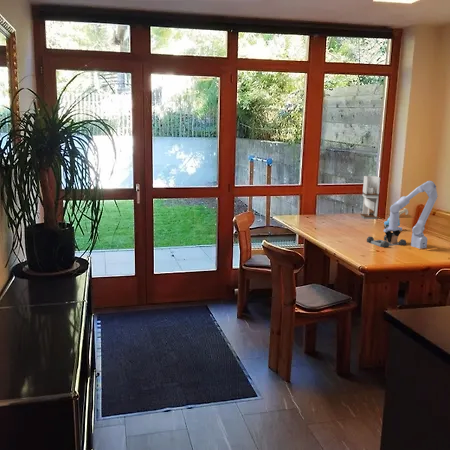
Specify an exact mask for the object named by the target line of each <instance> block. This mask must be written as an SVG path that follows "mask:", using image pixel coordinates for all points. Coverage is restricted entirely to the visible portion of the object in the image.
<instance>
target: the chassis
mask: <svg viewBox="0 0 450 450" xmlns="http://www.w3.org/2000/svg"><path fill="white" fill-rule="evenodd" d="M398 241H399V242H398ZM398 241H397V243H396V244H391V243H389V242H387V236H386V234H385V235H384V236H383V240H382V239H376V240H375V239H374V237H373V236H370V235H369V236H368V237H367V238H366V242H367V243H368V244H371V245H375V246H377V247H381V248H384V249H385V248H389V247H392V246H406V245H407V241H406V239H404V238H402V239H400V240H398Z"/></svg>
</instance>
